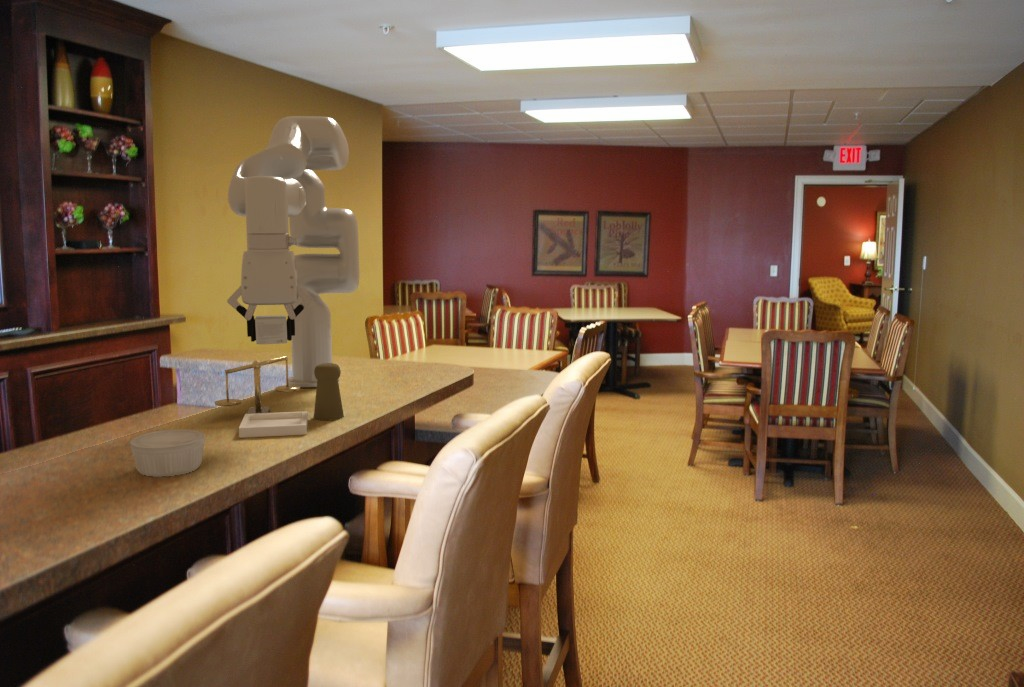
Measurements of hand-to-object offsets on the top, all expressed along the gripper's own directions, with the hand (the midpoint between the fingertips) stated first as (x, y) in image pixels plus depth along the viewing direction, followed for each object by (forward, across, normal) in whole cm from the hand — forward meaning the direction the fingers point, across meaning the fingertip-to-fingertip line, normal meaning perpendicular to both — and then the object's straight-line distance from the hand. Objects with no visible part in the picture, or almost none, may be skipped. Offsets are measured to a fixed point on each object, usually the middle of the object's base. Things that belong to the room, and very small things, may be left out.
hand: (271, 339), depth 160 cm
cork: (+17, -10, -8) cm, 22 cm away
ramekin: (+18, +15, +24) cm, 34 cm away
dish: (+17, 0, 0) cm, 17 cm away
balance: (+17, +4, -12) cm, 21 cm away
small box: (+1, 0, 0) cm, 1 cm away
